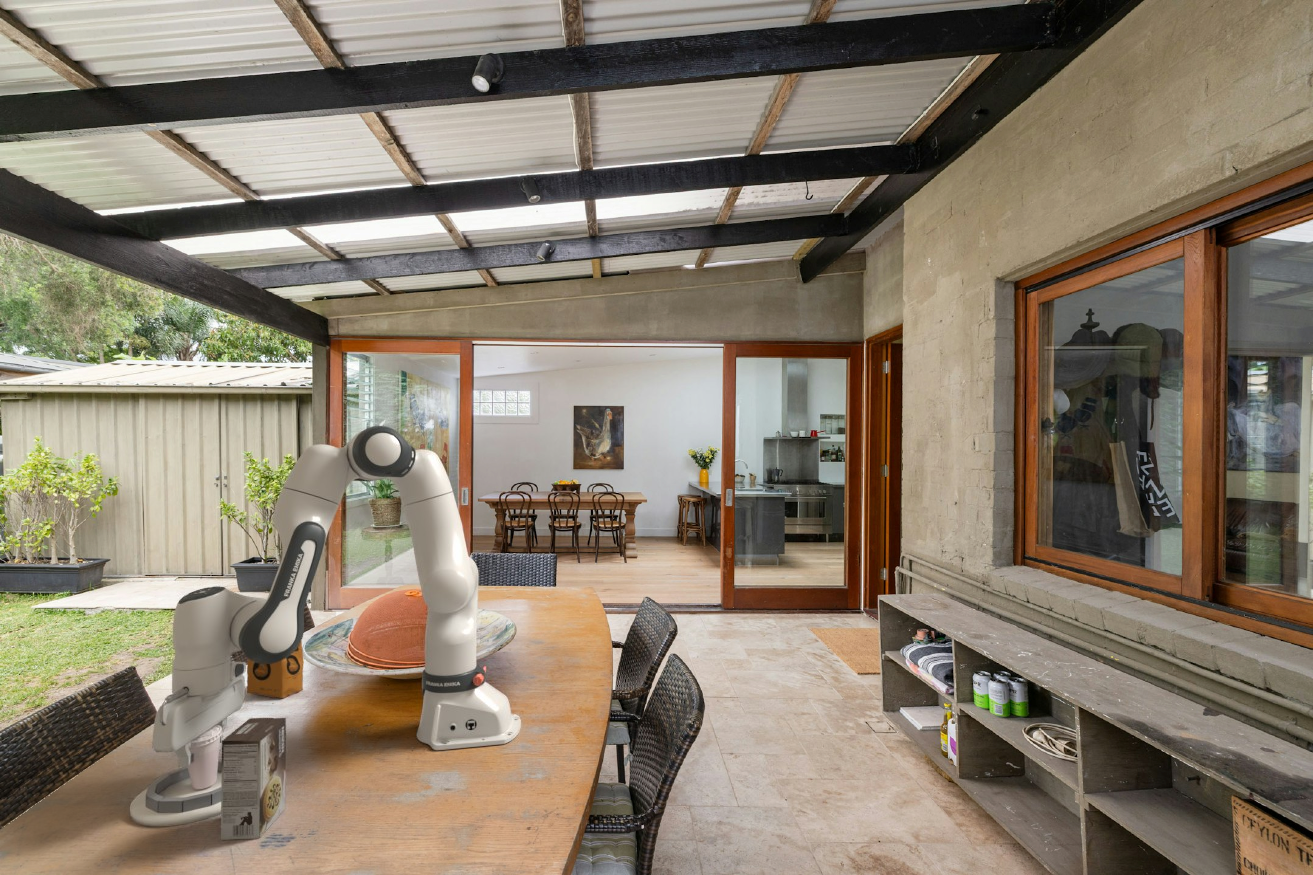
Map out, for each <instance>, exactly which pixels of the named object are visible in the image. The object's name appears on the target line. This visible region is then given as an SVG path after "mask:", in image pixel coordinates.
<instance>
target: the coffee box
mask: <svg viewBox="0 0 1313 875" xmlns="http://www.w3.org/2000/svg"><path fill="white" fill-rule="evenodd" d="M286 719H287V717H276V718H274V717H252V718H248V719H247V720H245V722H244V723H242V724H241V725H240V726H239V727H237V728H236V729H235V730H233V731H232V732H231V733H230V734H229V735H227V736H226V737H225V738H224V739H222V742H221V759H222V781H221V814H220V840H221V841H224V840H226V841H229V840H230V841H231V840H248V839H249V840H250V839H252V840H253V839H255V840H256V839H260V838H261V837H262V836H263V835H264V834H265V833H266V831H267V830H268V829H269V828H270V827H271V825H273V824H274V822H275V821H276V820H277V819H278V818H279V816H280V815H281V814H282V813H283V812H284V811H285V809H286V807H287V804H286V803H287V799H286V798H287V796H286V793H287V791H286V790H287V789H286V788H287V786H286V785H287V784H286V782H287V776H286V775H287V774H286V772H287V770H286V769H287V751H286V750H287V747H286V746H287V742H286V741H287V720H286Z"/></svg>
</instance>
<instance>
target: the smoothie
mask: <svg viewBox="0 0 1313 875" xmlns="http://www.w3.org/2000/svg"><path fill="white" fill-rule="evenodd" d="M221 735H222V727H221V726H219V725H215V726H213V727H212V728H210V729H209V730H207V731H205V732H204V733H202V734H201V735H199V736H198V737H196V738H195V739H193V740H192V741H191V746H190V747H188V748H189V751H190V753H194V758H193V759H194V762H193V763H192V764H190V765H189V766H188V770H189V774H190V778H191V783H192V787H193V788H194V789H204V788H207V787H209V786H211V785H213V784H214V783H215V782H216V781H217V770H218V759H220V757H219V756H220V745H221V743H220V736H221Z"/></svg>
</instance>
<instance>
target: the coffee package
mask: <svg viewBox="0 0 1313 875" xmlns="http://www.w3.org/2000/svg"><path fill="white" fill-rule="evenodd" d="M302 640H303V639H302ZM302 640H301V642H300V644H299V646H298V647H297V649H296V650H295V651H294V652H293V653H292V654H291V655H290V656H288V657H287V658H285V659H283V660H281V661H279V662H276V663H272V664H259V663H255V662H253V661H251V660H250V659H249V658H247V657H246V675H247V678H246V679H247V680H246V683H247V686H246V693H247V694H251V695H259V696H263V697H270V698H279V699H286V698H287V697H290V695H291V696H292V695H294V694H297V693H300V692H301V691H303V690H304V689H303V684H304V683H303V682H304V680H303V679H304V678H303V677H304V674H303V673H304V663H305V662H304V653H303V642H302Z"/></svg>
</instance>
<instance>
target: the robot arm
mask: <svg viewBox="0 0 1313 875" xmlns="http://www.w3.org/2000/svg"><path fill="white" fill-rule="evenodd" d="M383 479H388V480H390V481H391V482H392V483H393V484H394V486H395V487H396V489H397V491H398V493H399V496H400V501H401V502H400V503H401V505H402V509H403V511H404V512H403V513H404V515H405V519H406V522H407V526H408V530H409V533H410V538H411V541H412V547H413V552H414V560H415V566H416V570H417V571H416V572H417V575H418V576H417V577H418V580H419V585H420V589H421V596H422V598H423V601H424V603H425V604H426V607H427V606H428V611H427V612H428V613H427V612H426V627H425V631H424V632H425V633H424V634H425V635H424V638H425V639H424V669H423V670H422V676H421V677H422V678H421V690H422V696H423V703H422V709H421V714H420V715H421V716H420V721H419V724H418V725H419V726H418V728H417V731H416V738H417V739H418V740H419V742H421V743H423V744H427V745H429V746H430V747H431V748H432V750H434V751H443V750H444V751H445V750H455V749H463V748H465V749H466V748H474V747H475V748H476V747H484V746H485V747H486V746H496V745H505V744H507V743H509V742H511V741H512V740H514V739H515V737H517V735H518V734H519V733H520V731H521V727H522V720H521V718H520V716H519V715H518V714H516V713H514V714H513V713H512V711H511V704H510V701H509V699H508V696H506V695H505V694H504V693H502V692H501V691H500V690H498V689H497V688H495V687H494V686H493V685H491V684H489V683H488V682H486V672H487V666H483V668H482V667H481V666H479V664H477V647H478V646H477V644H478V643H477V642H478V641H477V636H478V635H477V630H478V611H479V610H478V608H479V579H480V578H479V575H480V574H479V568H478V566H477V564H476V562H475V560H473V559H472V557H470V556H469V553H468V549H467V543H466V538H465V533H464V526H463V523H462V518H461V516H460V512H459V508H458V505H457V501H456V497H455V494H454V491H453V487H452V484H451V481H450V479H449V476H448V473H447V471H446V469H445V467H444V465H443V462H442V460H441V459H440V457H439V455H438V454H437V453H436V452H435V451H432V450H429V449H421V448H420V449H416V448H414V446H413V445H412V444H411V443H409V441H407V439H406V438H404V436H403V435H402V434H400V432H398V431H397V430H396V429H394V428H393V427H389V426H384V425H374V426H369V427H367V428H365V429H363V430H361V431H359V432H358V433H357V434H355V435H354V436H353V437H352V438H351V439H350V441H348V442H347V443H346V444H344V445H343V446H341V447H336V446H333V445H330V444H324V443H321V444H318V443H317V444H313V445H310V446H309V447H307V448H305V450H304V451H303V452H302V454H301V455H300V456H299V458H298V459H297V461H296V462H295V464H294V465H293V467H292V468H291V471H290V472H289V474H288V476H287V477H286V480H285V482H284V484H283V485H282V488H281V491H280V493H279V494H278V497H277V500H276V503H275V507H274V511H273V516H272V522H273V526H274V528H275V530H276V532H277V534H278V536H279V539H280V542H281V546H282V554H281V555H282V556H281V559H280V560H281V561H280V563H279V566H278V568H277V572H276V575H275V577H274V580H273V582H272V584H271V588H270V590H269V593H268V596H267V598H262V597H256V596H248V595H243V594H240V593H238V592H235V591H232V590H229V589H228V588H226V587H225V586H219V585H218V586H211V587H204V588H200V589H197V590H194V591H193V590H192V591H191V592H188V593H187V594H186V595H184V596H182V597H181V598H180V599H179V600H178V602H177V603H176V606H175V610H174V615H173V623H172V646H173V649H174V658H173V661H172V663H171V664H172V666H171V667H172V668H171V670H172V671H171V693H170V694H169V695H167V696H166V697H164V701H163V703H162V704H161V705H160V706H159V708H158V710H157V711H156V714H155V717H154V722H153V730H152V742H151V743H152V749H153V751H154V752H156V753H173V752H174V754H175V755H176V757H177V758H178V759H177V762H178V763H177V765H178V767H179V768H181V767H187V766H189V765H190V764H192V763H193V762H194V759H193V758H194V753H190V751H189V748H188V747H190V746H191V741H192V740H193V739H195V738H196V737H198V736H199V735H201V734H202V733H204V732H205V731H207V730H209V729H210V728H212V727H213V726H215V725H219V726H221V727H222V735H221V736H220V744H222V740H223V737H224V732H225V728H226V726H227V724H228V718H229V716H232V715H233V714H234V713H236V712H238V711H239V710H240V709H242V706H243V705H244V704H243V703H244V702H245V694H246V693H245V691H246V690H245V688H246V680H245V675H244V674H245V673H247V662H245V661H231V659H232V657H231V655H233V653H234V652H239V651H241V652H242V653H243V654H244V655H245V657H246V659H247V658H249V659H250V660H251V661H253V662H255V663H259V664H272V663H276V662H279V661H281V660H283V659H285V658H287V657H288V656H290V655H291V654H292V653H293V652H294V651H295V650H296V649H297V647H298V646H299V644H300V642H301V640H303V638H304V633H305V632H304V631H305V619H304V618H305V617H304V616H305V607H306V603H307V600H308V596H309V593H310V590H311V588H312V584H313V583H314V579H315V577H316V576H315V575H316V573H317V569H318V567H319V564H320V561H321V557H322V555H323V550H324V547H325V544H326V540H327V537H328V533H329V532H330V529H331V526H332V524H333V521H334V519H335V516H336V514H337V511H338V509H339V506H340V504H341V502H342V499H343V496H344V493H345V492H346V490H347V488H348V487H349V485H350V484H351V483H352V482H353V481H355V482H374V481H381V480H383Z"/></svg>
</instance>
